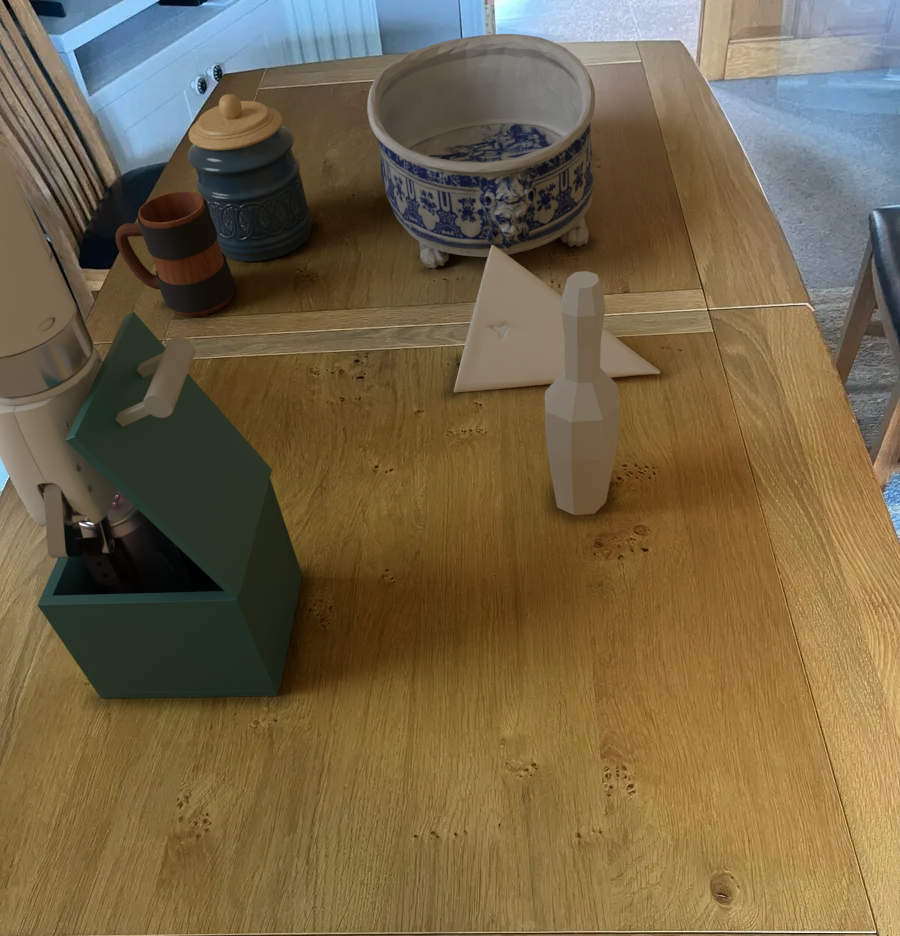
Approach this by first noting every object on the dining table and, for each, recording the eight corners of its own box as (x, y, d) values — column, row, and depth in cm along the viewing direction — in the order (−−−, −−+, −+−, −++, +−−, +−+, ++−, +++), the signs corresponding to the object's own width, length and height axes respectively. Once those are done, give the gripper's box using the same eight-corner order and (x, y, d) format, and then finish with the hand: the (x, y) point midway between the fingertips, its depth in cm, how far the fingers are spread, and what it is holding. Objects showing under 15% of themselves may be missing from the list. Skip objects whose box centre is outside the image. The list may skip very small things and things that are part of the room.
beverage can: (148, 602, 81) (79, 473, 70) (215, 599, 80) (157, 469, 69) (131, 657, 77) (55, 530, 66) (201, 655, 77) (137, 526, 65)
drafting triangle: (679, 287, 96) (493, 235, 94) (688, 300, 90) (491, 245, 89) (629, 423, 103) (456, 376, 102) (635, 442, 98) (453, 393, 97)
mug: (148, 285, 117) (113, 194, 108) (242, 277, 116) (214, 185, 107) (133, 324, 112) (95, 232, 103) (231, 316, 111) (201, 222, 102)
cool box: (100, 698, 76) (36, 605, 67) (142, 580, 84) (90, 482, 75) (278, 696, 74) (237, 600, 65) (302, 575, 82) (269, 475, 73)
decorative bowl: (634, 277, 108) (641, 145, 96) (407, 318, 107) (387, 190, 95) (550, 125, 135) (548, 8, 124) (369, 156, 134) (350, 42, 123)
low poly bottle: (606, 528, 82) (615, 308, 66) (537, 515, 84) (528, 298, 68) (623, 480, 86) (636, 261, 69) (556, 469, 88) (553, 252, 71)
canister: (288, 268, 117) (251, 122, 103) (198, 259, 120) (151, 117, 107) (329, 215, 124) (300, 73, 111) (243, 209, 128) (205, 70, 114)
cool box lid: (64, 440, 55) (128, 411, 53) (124, 315, 63) (182, 286, 61) (231, 597, 65) (289, 577, 63) (264, 472, 73) (316, 451, 71)
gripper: (18, 276, 64) (116, 473, 77) (-89, 443, 52) (48, 639, 66) (124, 269, 63) (204, 470, 76) (38, 437, 52) (149, 637, 65)
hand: (131, 547), depth 71 cm, fingers closed on beverage can, 6 cm apart
